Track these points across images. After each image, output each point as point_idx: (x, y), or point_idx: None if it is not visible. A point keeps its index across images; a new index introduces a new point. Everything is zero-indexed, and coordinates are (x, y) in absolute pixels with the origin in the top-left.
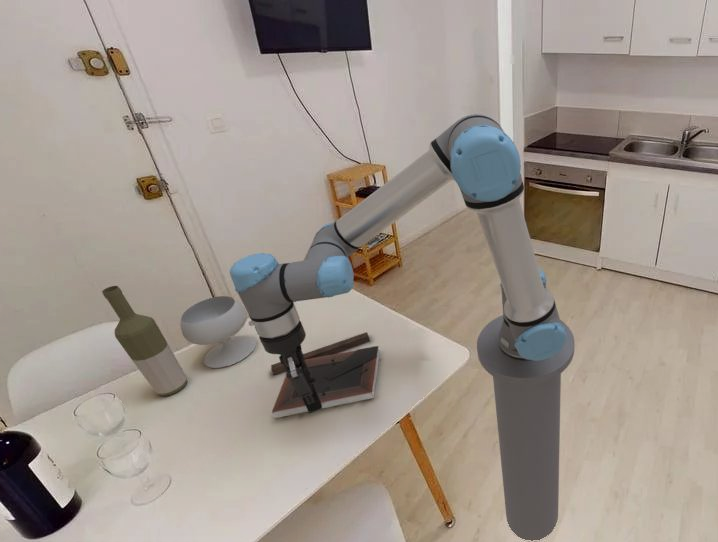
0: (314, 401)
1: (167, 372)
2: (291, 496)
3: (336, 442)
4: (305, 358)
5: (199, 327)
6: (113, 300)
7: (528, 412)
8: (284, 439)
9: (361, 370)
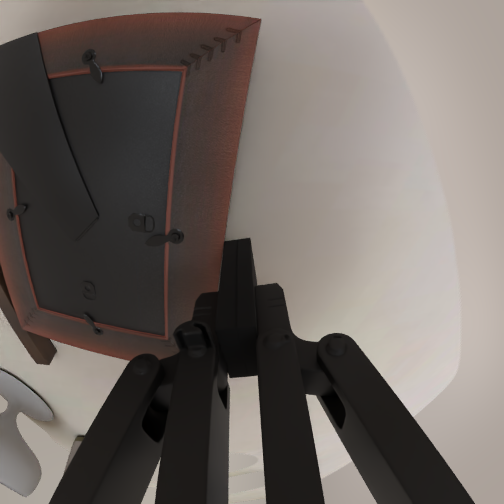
0: (280, 287)
1: None
2: (450, 284)
3: (385, 185)
4: (7, 295)
5: (25, 489)
6: None
7: None
8: (291, 322)
9: (81, 80)
